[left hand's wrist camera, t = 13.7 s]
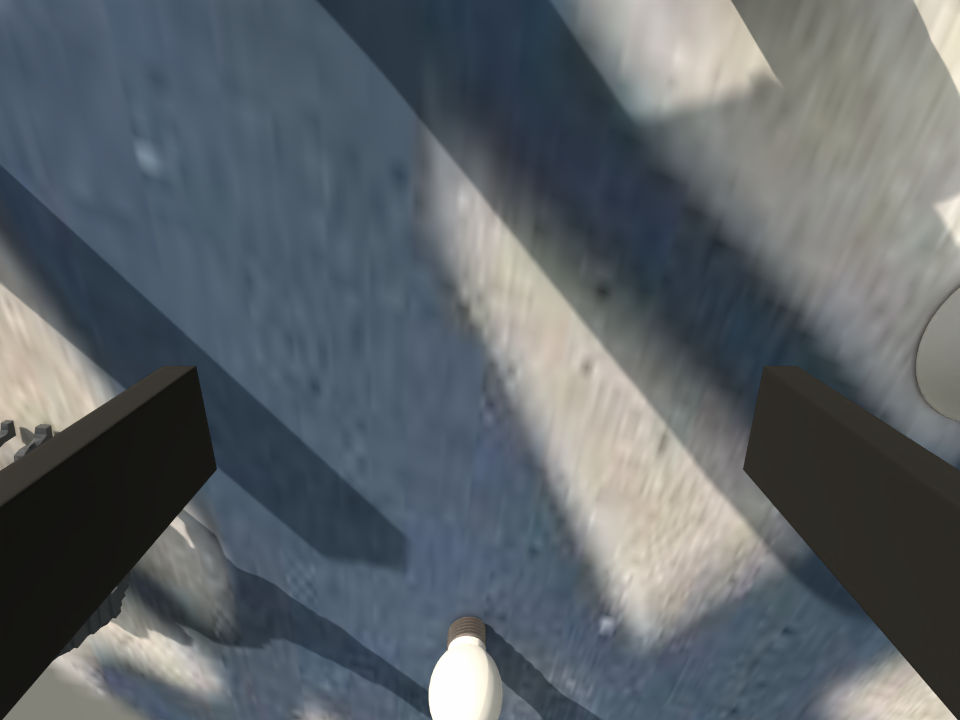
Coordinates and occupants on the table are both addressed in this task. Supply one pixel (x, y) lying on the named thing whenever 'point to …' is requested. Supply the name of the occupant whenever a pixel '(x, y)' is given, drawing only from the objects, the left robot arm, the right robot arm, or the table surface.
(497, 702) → the light bulb
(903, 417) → the table surface
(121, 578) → the left robot arm
